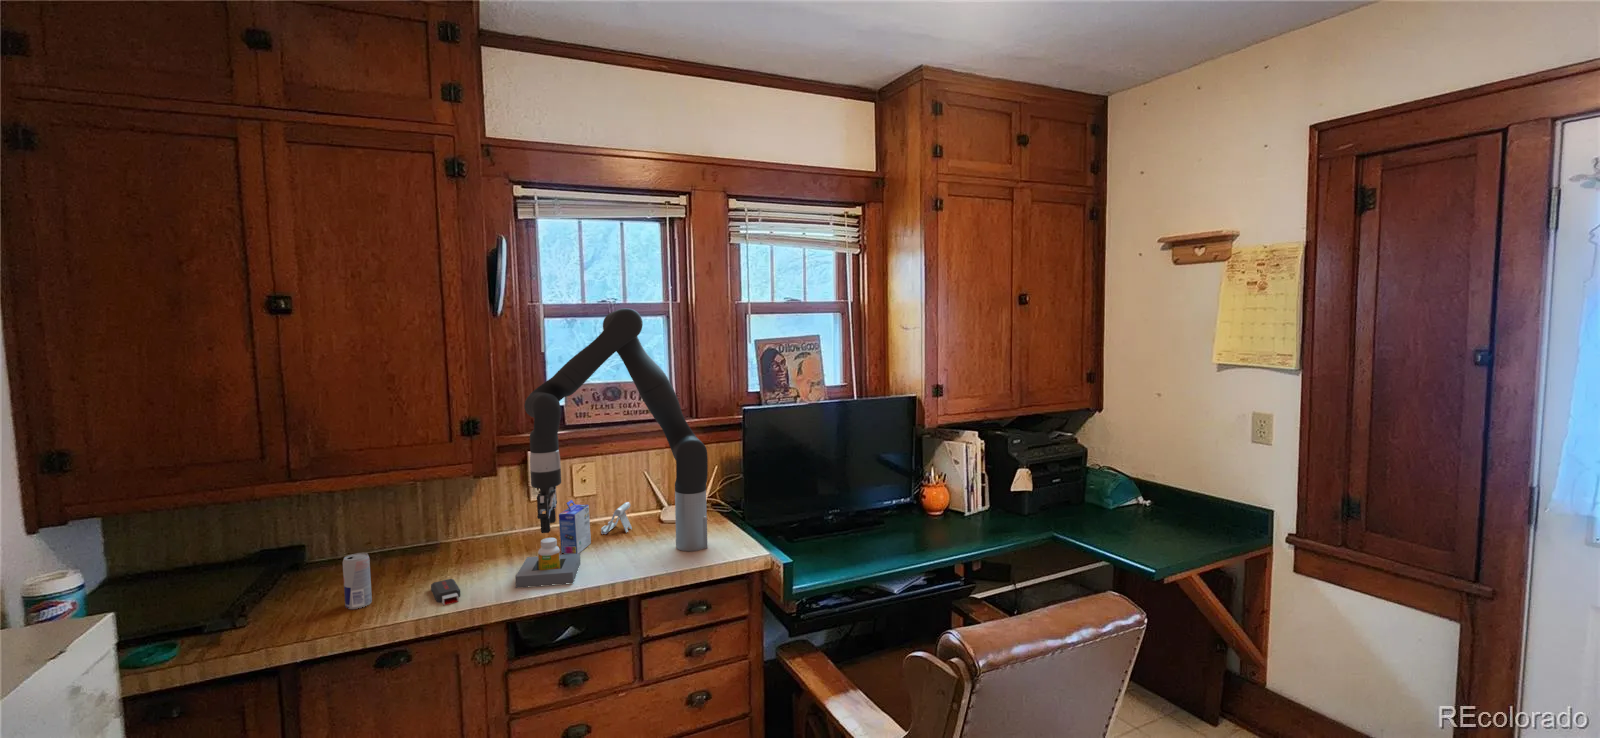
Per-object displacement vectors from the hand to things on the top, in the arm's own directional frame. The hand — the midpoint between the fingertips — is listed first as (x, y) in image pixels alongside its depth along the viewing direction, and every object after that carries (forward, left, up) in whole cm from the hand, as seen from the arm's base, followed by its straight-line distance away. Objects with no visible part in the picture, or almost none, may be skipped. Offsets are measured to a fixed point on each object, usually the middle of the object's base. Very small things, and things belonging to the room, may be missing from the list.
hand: (548, 527), depth 176 cm
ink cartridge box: (-4, -20, -13) cm, 25 cm away
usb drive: (+23, +8, -14) cm, 28 cm away
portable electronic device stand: (-15, -35, -14) cm, 41 cm away
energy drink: (+42, +10, -13) cm, 45 cm away
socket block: (0, 0, -13) cm, 13 cm away
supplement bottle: (0, 0, -13) cm, 13 cm away
